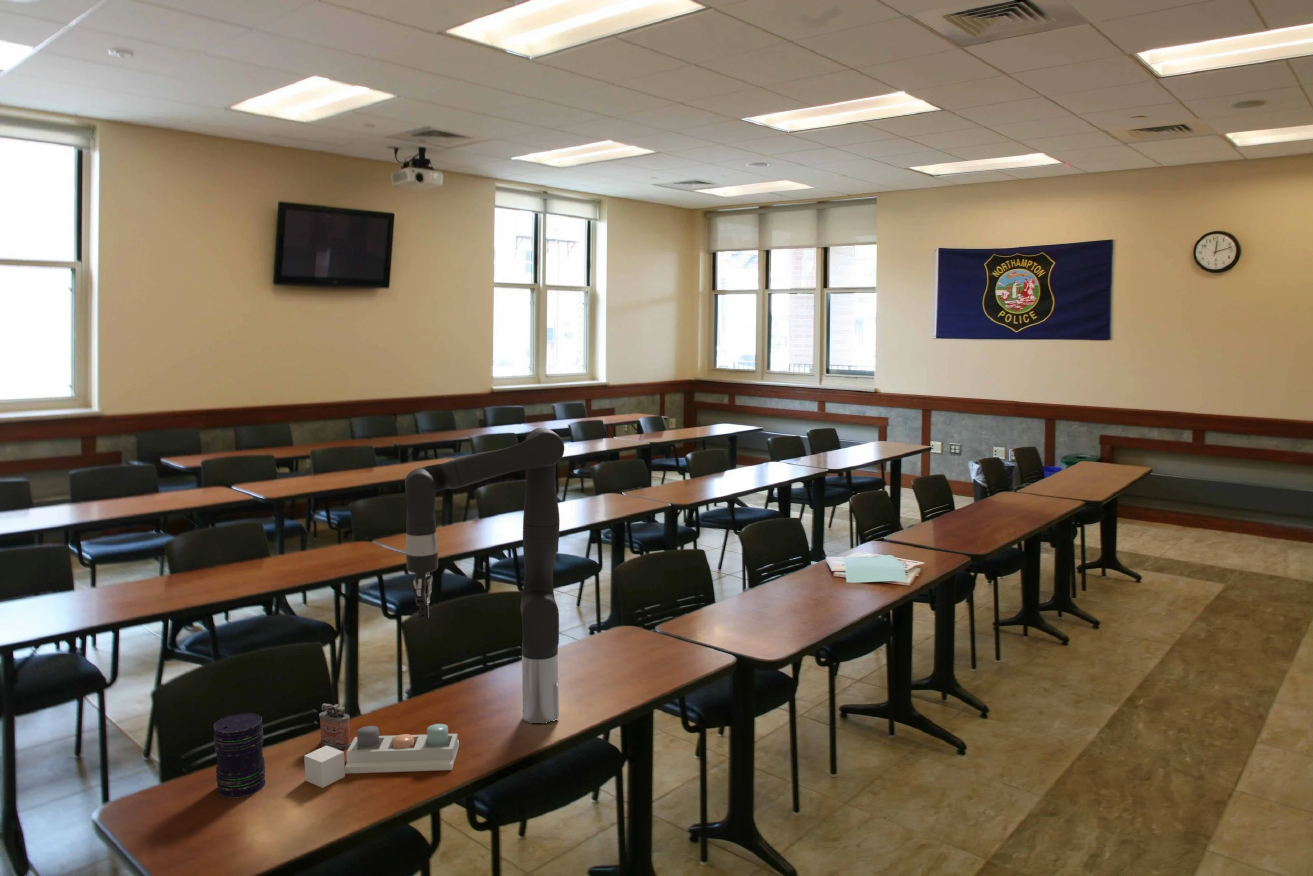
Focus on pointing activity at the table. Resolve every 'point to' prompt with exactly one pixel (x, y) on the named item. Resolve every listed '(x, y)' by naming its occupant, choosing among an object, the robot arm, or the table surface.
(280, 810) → the table surface
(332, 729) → the lighter
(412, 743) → the terracotta button
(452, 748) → the button board
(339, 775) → the white cube
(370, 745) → the charcoal button
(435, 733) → the teal button
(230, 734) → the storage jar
